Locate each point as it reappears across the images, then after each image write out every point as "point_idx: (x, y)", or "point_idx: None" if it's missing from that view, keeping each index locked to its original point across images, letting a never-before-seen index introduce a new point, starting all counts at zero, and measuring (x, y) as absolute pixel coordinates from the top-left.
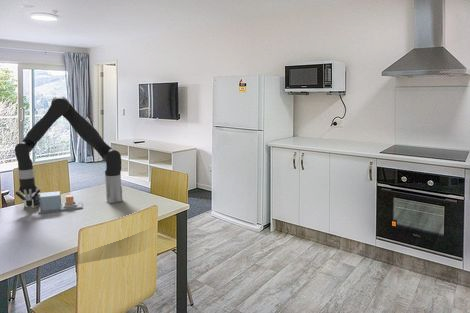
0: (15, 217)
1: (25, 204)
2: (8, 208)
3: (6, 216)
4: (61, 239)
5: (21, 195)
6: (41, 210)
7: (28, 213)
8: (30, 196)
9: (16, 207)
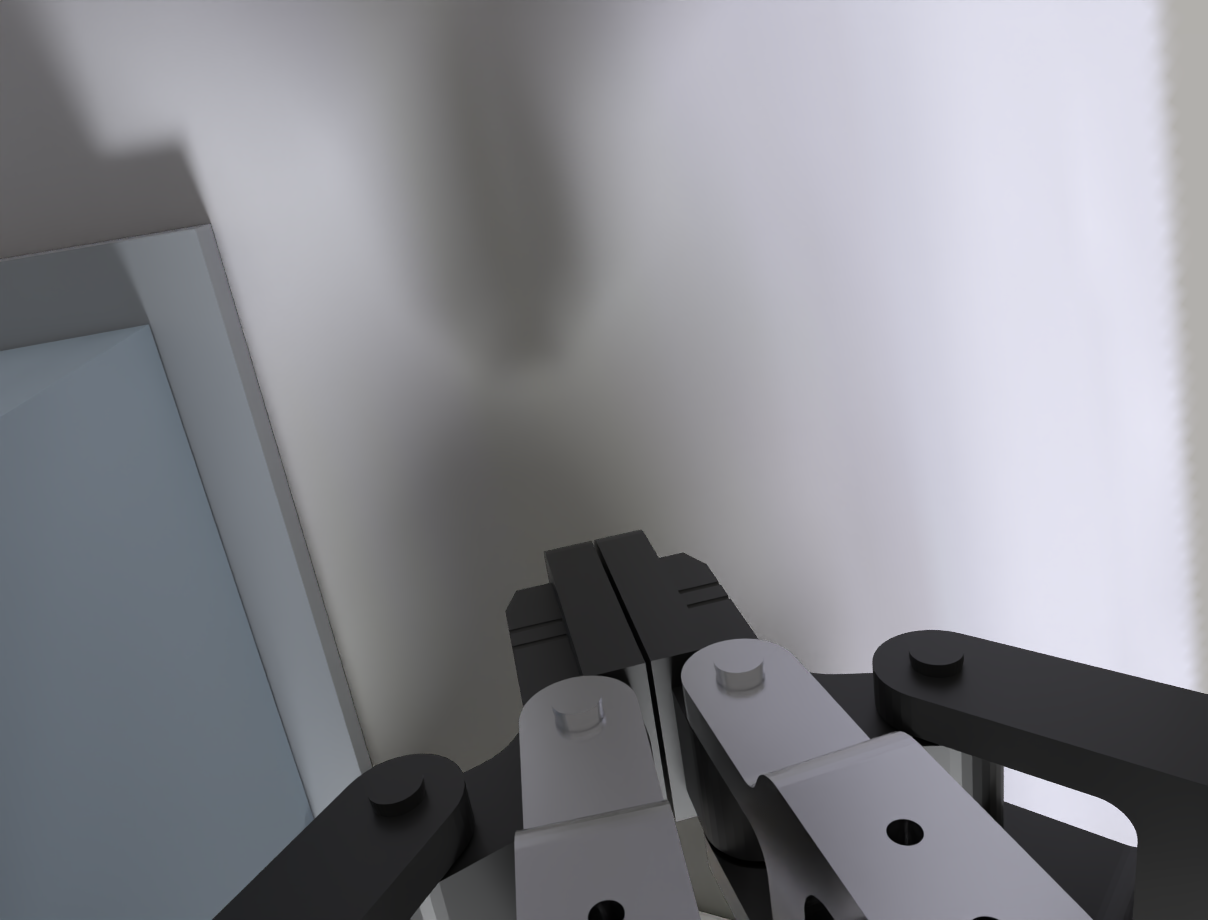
0: (875, 21)
1: None
2: None
3: (1123, 216)
4: None
5: (1157, 848)
6: (103, 332)
7: (577, 365)
8: (586, 825)
9: None
